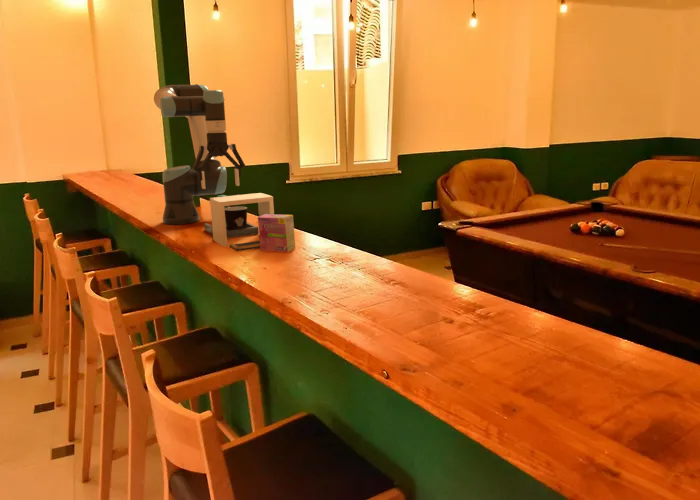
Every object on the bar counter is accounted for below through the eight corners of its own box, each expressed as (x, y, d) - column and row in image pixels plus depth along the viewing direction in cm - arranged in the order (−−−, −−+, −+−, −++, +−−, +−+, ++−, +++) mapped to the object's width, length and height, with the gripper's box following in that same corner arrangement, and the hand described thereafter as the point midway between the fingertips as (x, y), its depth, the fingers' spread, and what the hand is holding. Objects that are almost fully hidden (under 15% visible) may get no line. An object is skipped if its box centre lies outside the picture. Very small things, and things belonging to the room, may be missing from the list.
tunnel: (213, 240, 203) (209, 197, 199) (263, 233, 212) (261, 192, 208) (223, 246, 193) (219, 202, 189) (275, 239, 202) (273, 196, 198)
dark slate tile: (229, 246, 193) (229, 243, 192) (272, 240, 200) (272, 237, 200) (236, 251, 186) (236, 247, 185) (281, 244, 193) (281, 241, 193)
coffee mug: (250, 231, 216) (248, 206, 214) (248, 236, 208) (246, 209, 205) (219, 233, 215) (217, 207, 213) (216, 237, 207) (213, 211, 204)
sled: (204, 229, 221) (201, 197, 218) (241, 225, 228) (239, 193, 225) (219, 238, 204) (216, 203, 201) (258, 233, 211) (256, 199, 208)
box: (260, 251, 187) (257, 216, 184) (268, 247, 192) (266, 213, 189) (287, 253, 183) (285, 217, 180) (295, 249, 188) (293, 214, 185)
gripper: (185, 133, 205) (191, 191, 211) (250, 130, 217) (254, 185, 222) (181, 133, 212) (186, 188, 217) (244, 130, 223) (248, 183, 229)
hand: (220, 187), depth 220 cm, fingers open, 13 cm apart
